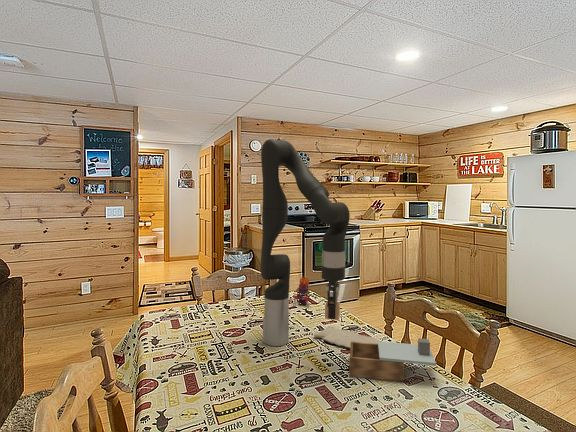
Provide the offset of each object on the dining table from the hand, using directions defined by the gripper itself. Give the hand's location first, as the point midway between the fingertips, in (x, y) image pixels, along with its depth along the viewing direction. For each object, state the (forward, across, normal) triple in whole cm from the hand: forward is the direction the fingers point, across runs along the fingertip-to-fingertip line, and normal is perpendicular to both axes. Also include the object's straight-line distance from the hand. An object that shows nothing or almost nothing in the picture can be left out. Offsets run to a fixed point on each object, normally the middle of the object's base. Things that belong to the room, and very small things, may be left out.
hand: (332, 315), depth 114 cm
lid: (+10, -1, -23) cm, 25 cm away
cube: (0, 0, 0) cm, 0 cm away
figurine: (+18, +57, +19) cm, 63 cm away
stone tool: (+17, +18, -5) cm, 26 cm away
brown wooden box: (+16, -1, -14) cm, 22 cm away
